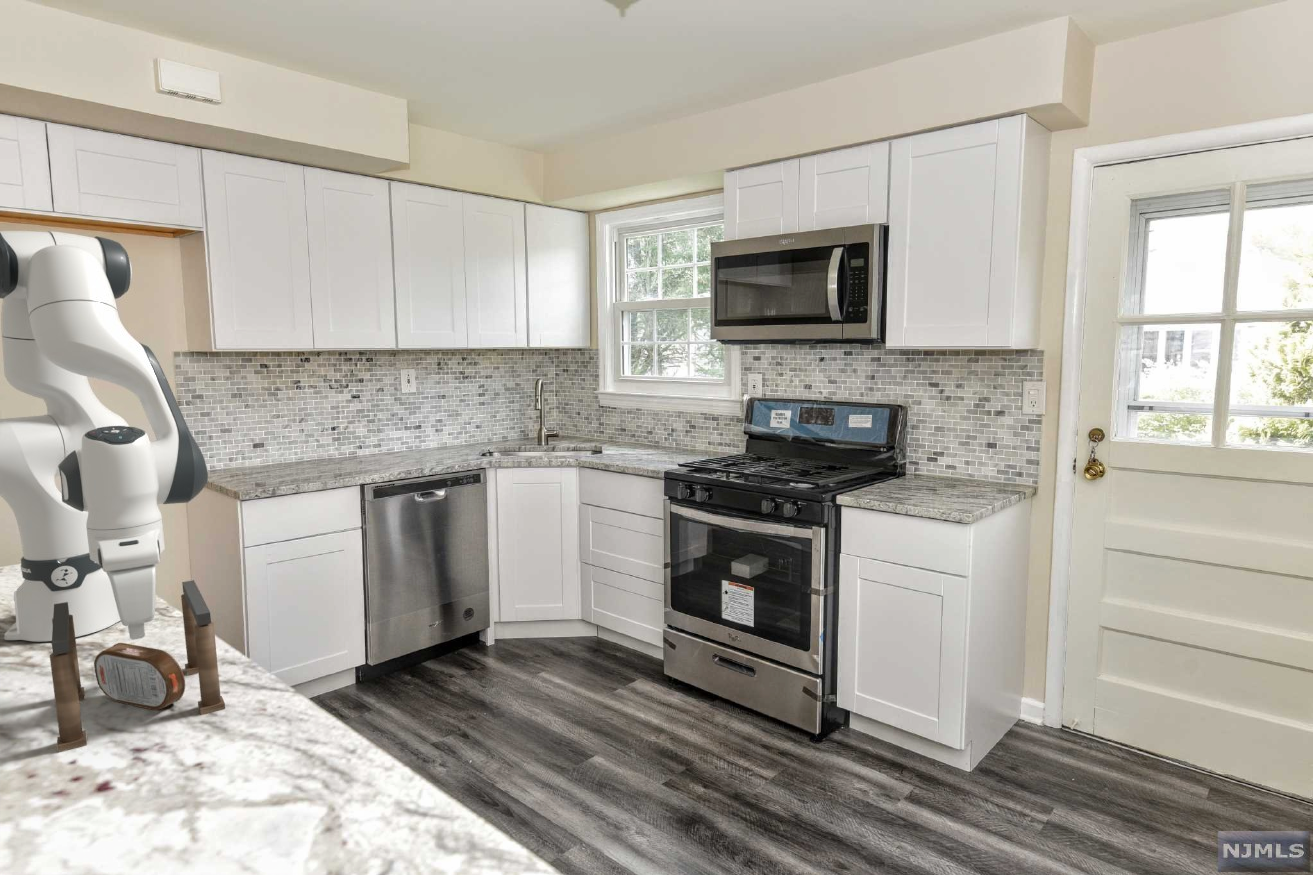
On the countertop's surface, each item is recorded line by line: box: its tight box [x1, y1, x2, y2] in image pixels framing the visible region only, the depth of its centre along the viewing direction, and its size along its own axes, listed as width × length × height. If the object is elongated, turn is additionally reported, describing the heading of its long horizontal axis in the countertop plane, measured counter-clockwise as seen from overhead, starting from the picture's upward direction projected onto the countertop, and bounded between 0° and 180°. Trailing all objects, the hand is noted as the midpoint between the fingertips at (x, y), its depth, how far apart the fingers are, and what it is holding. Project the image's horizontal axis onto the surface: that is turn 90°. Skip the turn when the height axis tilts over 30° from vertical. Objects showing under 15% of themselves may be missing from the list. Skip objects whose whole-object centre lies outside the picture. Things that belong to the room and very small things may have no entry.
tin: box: [93, 642, 186, 711], centre depth 113 cm, size 15×3×8 cm, turn 71°
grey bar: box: [51, 602, 69, 655], centre depth 106 cm, size 18×2×2 cm, turn 37°
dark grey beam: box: [181, 579, 212, 626], centre depth 116 cm, size 18×2×2 cm, turn 37°
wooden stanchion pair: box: [49, 593, 226, 753], centre depth 112 cm, size 19×19×12 cm
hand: (137, 635), depth 112 cm, fingers closed
